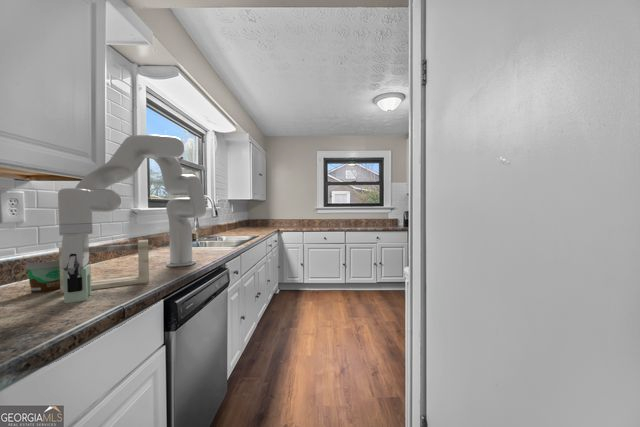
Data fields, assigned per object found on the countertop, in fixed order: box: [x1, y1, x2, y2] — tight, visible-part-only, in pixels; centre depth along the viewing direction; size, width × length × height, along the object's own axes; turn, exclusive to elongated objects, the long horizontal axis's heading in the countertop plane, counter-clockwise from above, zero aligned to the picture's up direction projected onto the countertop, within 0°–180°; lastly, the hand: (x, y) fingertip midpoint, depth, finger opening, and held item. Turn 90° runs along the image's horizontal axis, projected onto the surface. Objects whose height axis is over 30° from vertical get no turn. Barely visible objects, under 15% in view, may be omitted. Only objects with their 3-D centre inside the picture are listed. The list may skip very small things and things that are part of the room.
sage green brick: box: [63, 263, 92, 304], centre depth 83 cm, size 7×5×10 cm
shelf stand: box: [58, 239, 150, 295], centre depth 96 cm, size 6×24×15 cm, turn 121°
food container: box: [24, 259, 60, 294], centre depth 93 cm, size 12×6×10 cm, turn 168°
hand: (78, 287), depth 83 cm, fingers closed on sage green brick, 7 cm apart
